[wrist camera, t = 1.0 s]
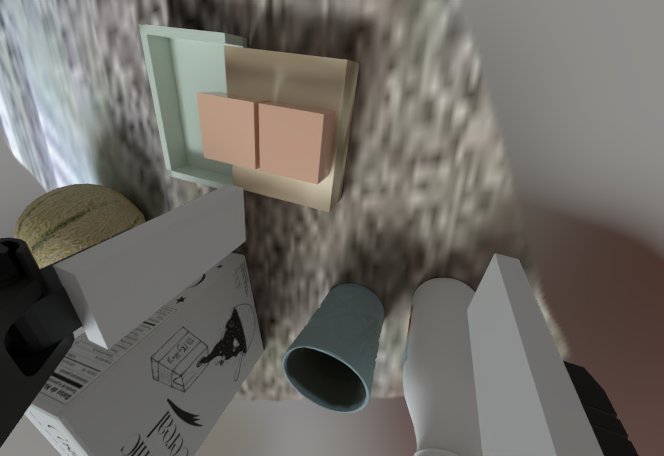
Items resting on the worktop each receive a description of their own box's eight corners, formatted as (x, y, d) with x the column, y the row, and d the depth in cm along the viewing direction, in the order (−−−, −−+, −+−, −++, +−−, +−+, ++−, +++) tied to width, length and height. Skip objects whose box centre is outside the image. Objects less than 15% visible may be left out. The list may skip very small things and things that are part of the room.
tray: (167, 29, 31) (138, 23, 28) (246, 38, 28) (224, 32, 26) (188, 168, 39) (167, 175, 36) (252, 184, 36) (235, 193, 33)
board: (249, 49, 29) (223, 45, 26) (359, 62, 26) (347, 59, 23) (253, 177, 36) (233, 187, 32) (340, 199, 33) (329, 212, 30)
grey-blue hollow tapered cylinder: (399, 330, 39) (384, 416, 29) (338, 336, 44) (306, 411, 34) (371, 271, 36) (343, 344, 26) (309, 284, 41) (265, 350, 31)
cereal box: (264, 351, 52) (146, 528, 31) (231, 341, 55) (100, 500, 34) (245, 254, 43) (55, 418, 22) (206, 246, 45) (0, 388, 24)
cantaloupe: (158, 182, 42) (38, 225, 30) (175, 261, 49) (84, 321, 37) (88, 164, 46) (-46, 194, 33) (113, 239, 53) (11, 288, 40)
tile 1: (276, 101, 26) (258, 103, 24) (335, 111, 25) (323, 114, 22) (275, 163, 29) (259, 170, 27) (328, 175, 28) (317, 184, 25)
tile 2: (218, 91, 28) (196, 92, 25) (271, 100, 26) (253, 102, 24) (223, 151, 31) (204, 157, 28) (271, 162, 29) (255, 169, 27)
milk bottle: (418, 268, 34) (395, 452, 17) (489, 284, 31) (541, 513, 15) (408, 315, 37) (380, 504, 20) (470, 332, 35) (495, 559, 18)
